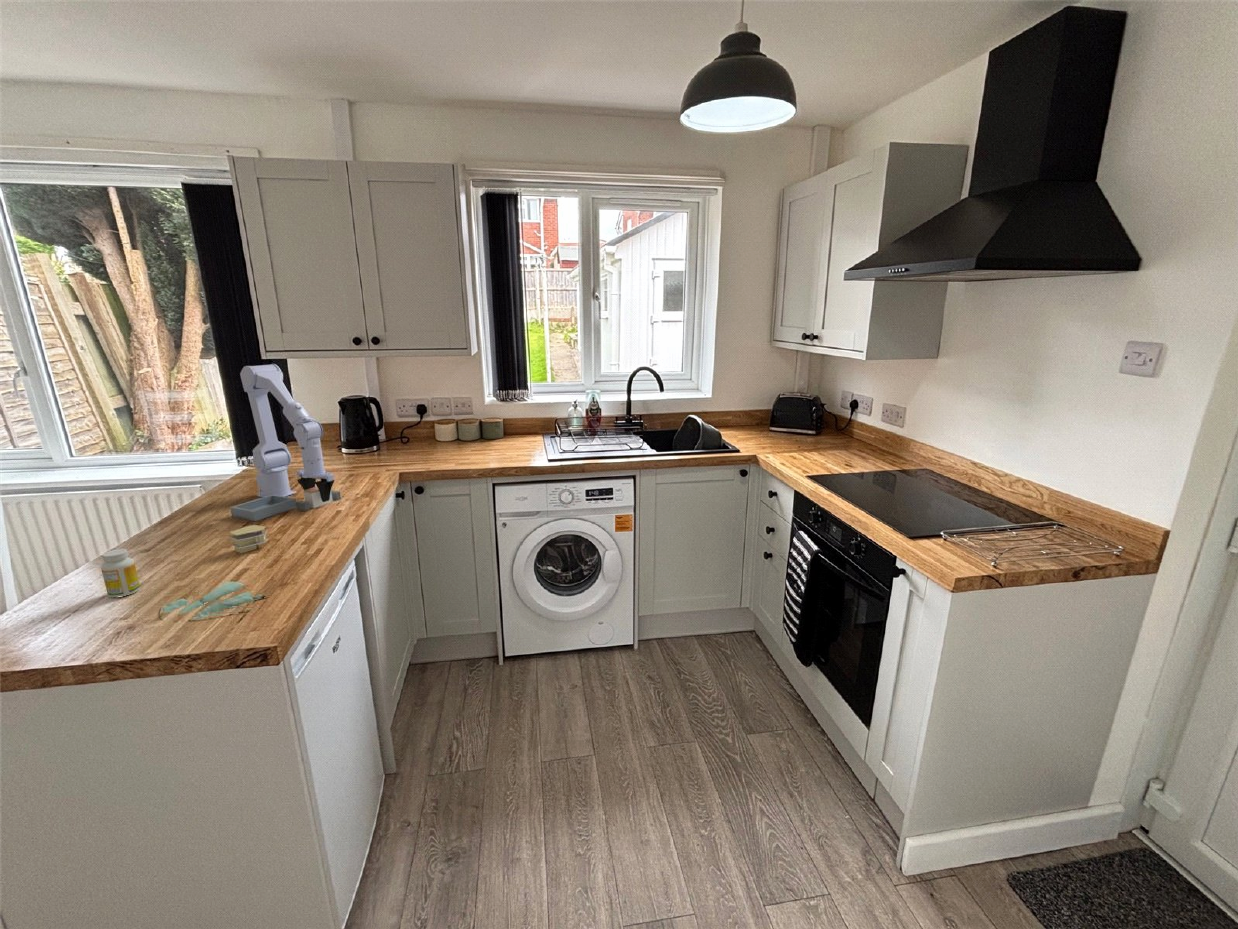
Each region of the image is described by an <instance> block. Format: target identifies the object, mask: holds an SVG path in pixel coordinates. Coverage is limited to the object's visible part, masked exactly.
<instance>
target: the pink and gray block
mask: <svg viewBox="0 0 1238 929" xmlns="http://www.w3.org/2000/svg"><path fill="white" fill-rule="evenodd" d="M303 495H304V501H306V502H309V506H310V509H312V508H313V509H315V508H318V507H321V506H324V505H327V504H330V503H332V502H333V501H334V499H332V493H331V492H330V499H329V501H326V502H322V499H321V495H320V492H319V489H318V487H317V486H315V487H313V488H310V489H307V490H304V489H303Z"/></svg>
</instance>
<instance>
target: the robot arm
mask: <svg viewBox="0 0 1238 929" xmlns="http://www.w3.org/2000/svg"><path fill="white" fill-rule="evenodd" d="M239 375H240V379H241V383H242V388H243V391H244V392H245V393H247V395H248V400H249V404H250V408H251V411H252V417H253V421H254V425H255V428H256V429H255V430H256V432H257V436H258V437H257V438H258V441H259V443H258V444H257V445H256V446H255V447H254V448H253V449H252V457H253V458H252V464H253V466H254V468H255V469H256V470H257V471H258V473H257V474H256V484H257V489H258V494H257V495H256V496H257V497H258V498H259V497H260V498H263V497H266V496H269V495H279V496H285V497H289V496H292V495H295V494H297V493H298V492H297V491H296V490H291V487H290V486H291V485H290V480H289V475H288V469H289V466H290V465H291V463H292V456H291V453H290V451H289V450H288V447H287V445H286V444H285V443H283V442H282V441H279V440H278V435H277V431H276V428H275V422H274V418H273V414H272V411H271V406H270V401H269V398H268V393H269V392H270V393H271V395H272V396H273V397H274V398H275V399H276V400H277V402H278V403H279V404H281V406H282V407H283V409H282V413H283V415H284V416H285V418H286V420H288V422H289V423H290V424H291V426H292V427H293V436H294V438H295V439H296V441H297V445H298V447H300V454H301V460H302V466H303V469H299V470H295V471H296V476H297V478H298V479H297V480H296V481H297V484H299V485H300V486H301V488H302V489H303V491H304V490H307V489H310V488H313V487H318V489H319V492H320V495H321V499H322V502H326V501H329V499H330V492H331V490H332V488H333V485H334V483H335V475H334V474H333V473H330V472H328V471H326V470H325V465H324V464H325V463H324V456H323V451H322V443H321V438H322V437H323V435H324V428H323V426H322V424H321V422H320V421H318V420H317V419H315V418H314V417H313V418H312V417H311V416H310V414H309V413H308V411H306V409H305V408H304V407H303V405H302V404H301V403H300V402H297V401H295V400H294V399H293V397H292V395H291V393H290V392H289V390H288V389H287V388H288V387H286V385H285V383H284V382H283V381H284V373H283V371H282V370H281V368H280V367H279V366H278V365H277V364H275V363H271V364H262V365H245V366H243V368H242V369H241V371H240V372H239Z"/></svg>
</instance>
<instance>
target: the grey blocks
mask: <svg viewBox="0 0 1238 929" xmlns="http://www.w3.org/2000/svg"><path fill="white" fill-rule="evenodd" d="M331 493H332V500H333V501H338V500H341V499H342V497H341V491H338V490H332V489H331ZM296 506H297V508H296V509H297V510H299V511H305V512H306V511H309V510H311V507H310V506H309V502H306V501H305V500H296Z"/></svg>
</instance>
